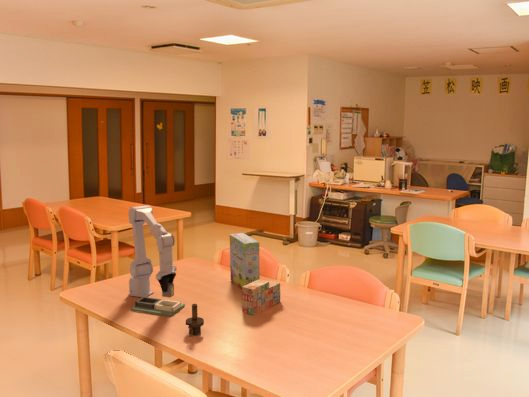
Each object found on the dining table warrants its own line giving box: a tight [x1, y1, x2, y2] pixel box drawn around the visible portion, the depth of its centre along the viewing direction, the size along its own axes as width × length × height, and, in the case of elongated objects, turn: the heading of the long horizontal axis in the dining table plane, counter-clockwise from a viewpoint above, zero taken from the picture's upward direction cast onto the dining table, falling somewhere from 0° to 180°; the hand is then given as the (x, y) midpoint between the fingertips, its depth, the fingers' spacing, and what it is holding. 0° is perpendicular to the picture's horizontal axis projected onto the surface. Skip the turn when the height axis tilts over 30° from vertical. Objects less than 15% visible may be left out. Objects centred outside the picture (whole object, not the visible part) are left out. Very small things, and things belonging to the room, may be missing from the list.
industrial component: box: [185, 303, 205, 336], centre depth 202 cm, size 9×7×12 cm
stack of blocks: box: [241, 279, 281, 316], centre depth 230 cm, size 21×6×12 cm, turn 144°
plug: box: [161, 282, 175, 299], centre depth 225 cm, size 4×3×6 cm
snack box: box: [228, 232, 261, 290], centre depth 257 cm, size 22×9×26 cm, turn 25°
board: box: [130, 296, 186, 317], centre depth 228 cm, size 20×13×3 cm, turn 70°
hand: (166, 290), depth 226 cm, fingers closed on plug, 3 cm apart
